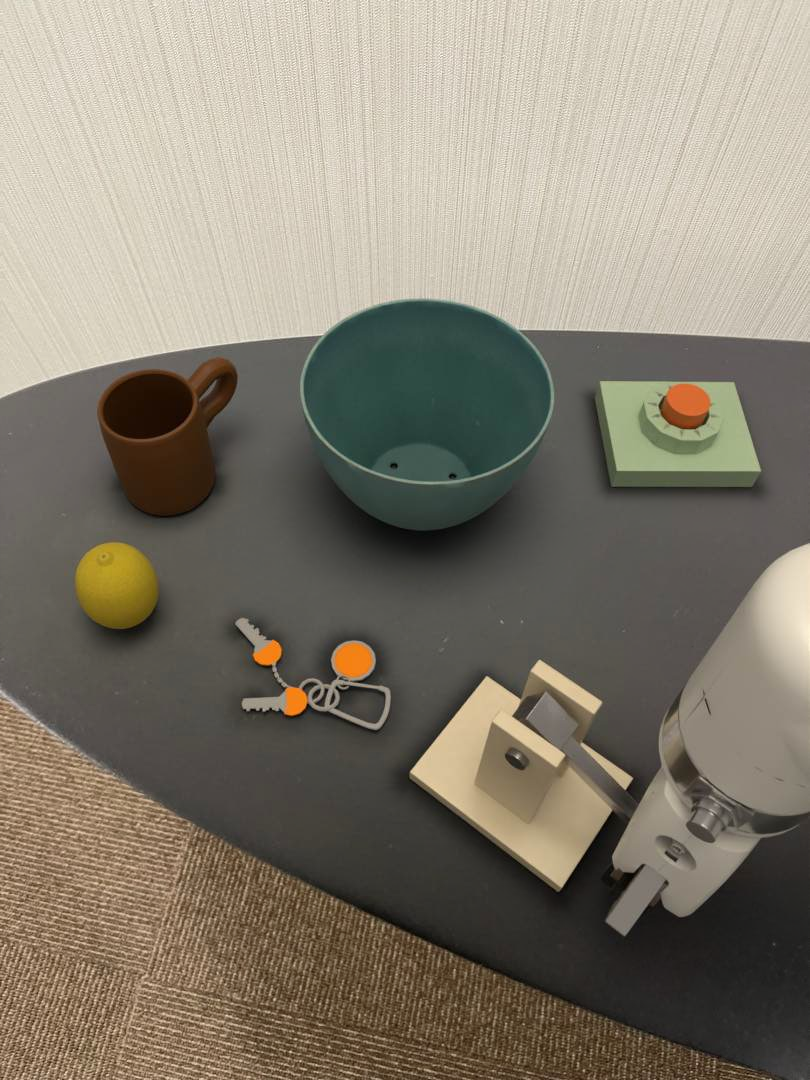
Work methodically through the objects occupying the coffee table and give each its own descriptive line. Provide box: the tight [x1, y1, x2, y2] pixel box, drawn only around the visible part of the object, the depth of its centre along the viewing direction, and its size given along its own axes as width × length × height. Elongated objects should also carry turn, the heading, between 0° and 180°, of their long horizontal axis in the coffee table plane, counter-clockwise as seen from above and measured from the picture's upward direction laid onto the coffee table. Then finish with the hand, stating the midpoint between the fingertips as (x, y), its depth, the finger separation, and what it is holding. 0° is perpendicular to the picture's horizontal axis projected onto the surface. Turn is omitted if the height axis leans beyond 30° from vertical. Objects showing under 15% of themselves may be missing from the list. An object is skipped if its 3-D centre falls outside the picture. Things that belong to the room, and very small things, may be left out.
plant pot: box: [299, 297, 555, 531], centre depth 70 cm, size 18×18×12 cm
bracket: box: [408, 659, 634, 893], centre depth 57 cm, size 12×9×12 cm
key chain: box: [234, 617, 392, 731], centre depth 65 cm, size 13×7×1 cm, turn 76°
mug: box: [96, 356, 238, 517], centre depth 72 cm, size 12×8×9 cm, turn 139°
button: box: [661, 383, 711, 429], centre depth 75 cm, size 4×4×2 cm
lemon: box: [74, 541, 160, 630], centre depth 64 cm, size 6×6×8 cm
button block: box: [594, 380, 762, 488], centre depth 77 cm, size 12×10×4 cm
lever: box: [512, 691, 639, 826], centre depth 54 cm, size 12×5×2 cm, turn 52°
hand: (648, 852), depth 56 cm, fingers closed on lever, 5 cm apart
